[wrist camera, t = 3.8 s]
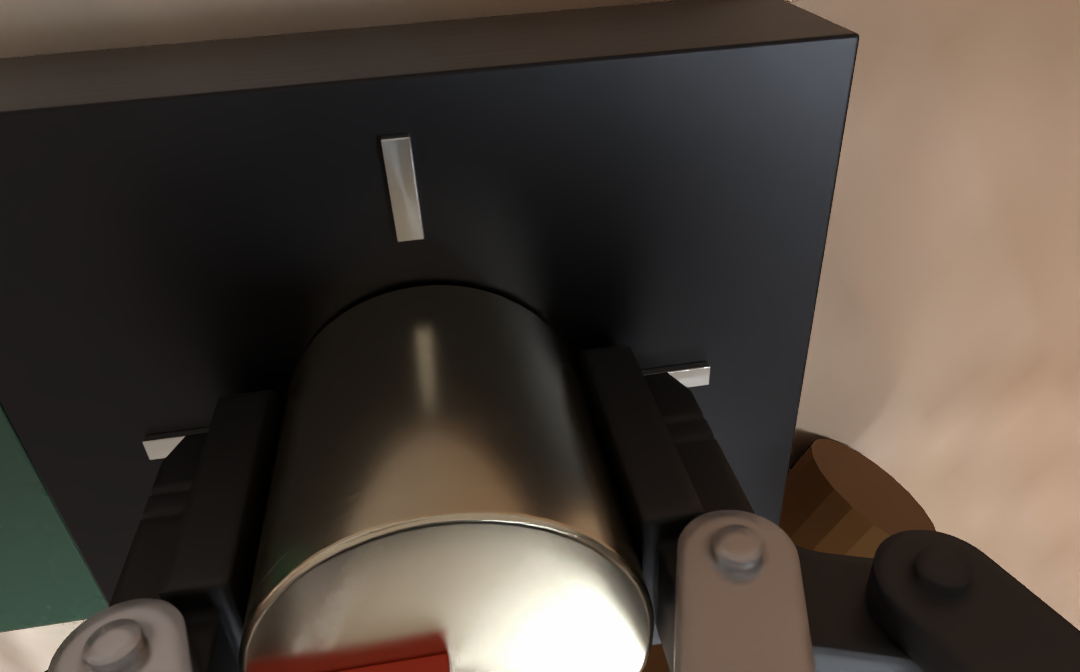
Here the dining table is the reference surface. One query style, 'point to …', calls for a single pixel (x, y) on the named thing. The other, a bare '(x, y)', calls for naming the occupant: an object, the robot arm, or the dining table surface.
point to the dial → (442, 503)
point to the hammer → (837, 509)
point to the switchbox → (37, 549)
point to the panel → (409, 217)
